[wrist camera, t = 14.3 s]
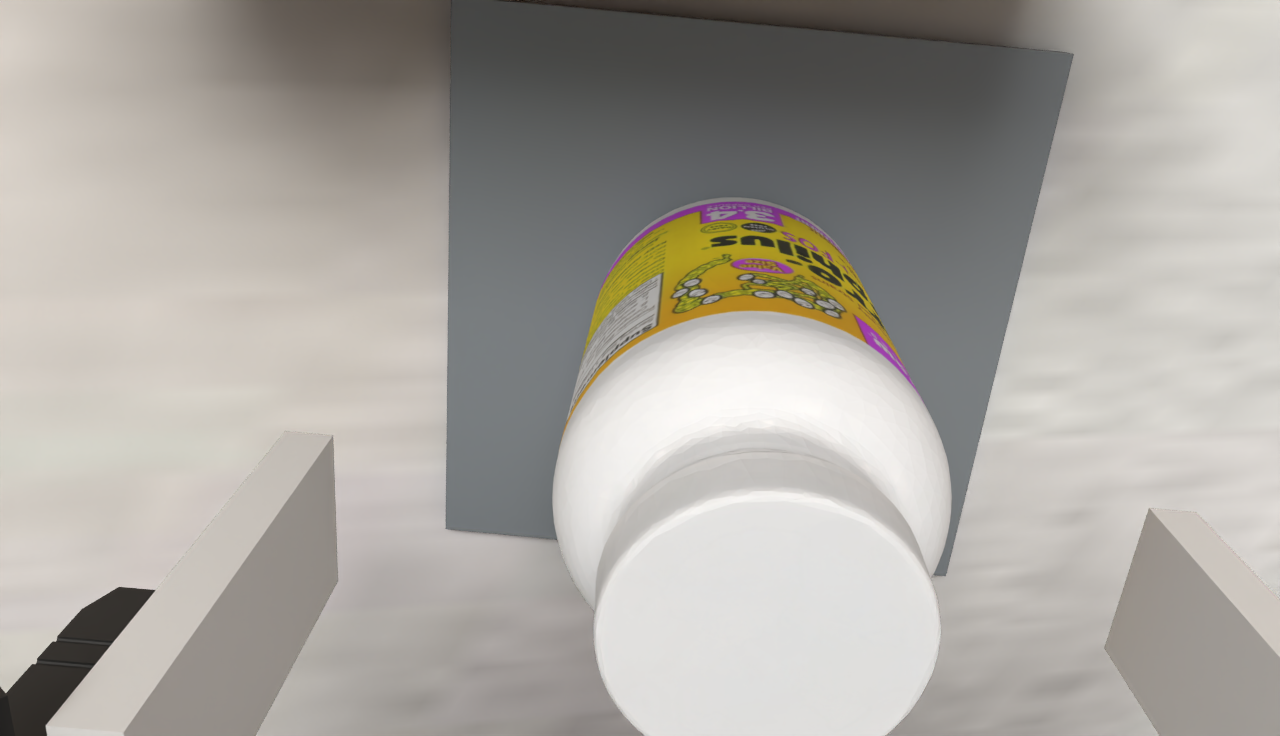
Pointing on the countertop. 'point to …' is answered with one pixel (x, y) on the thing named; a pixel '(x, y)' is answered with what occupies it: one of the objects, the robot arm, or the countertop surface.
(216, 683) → the robot arm
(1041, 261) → the countertop surface
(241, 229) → the countertop surface
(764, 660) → the supplement bottle
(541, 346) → the slate mat
